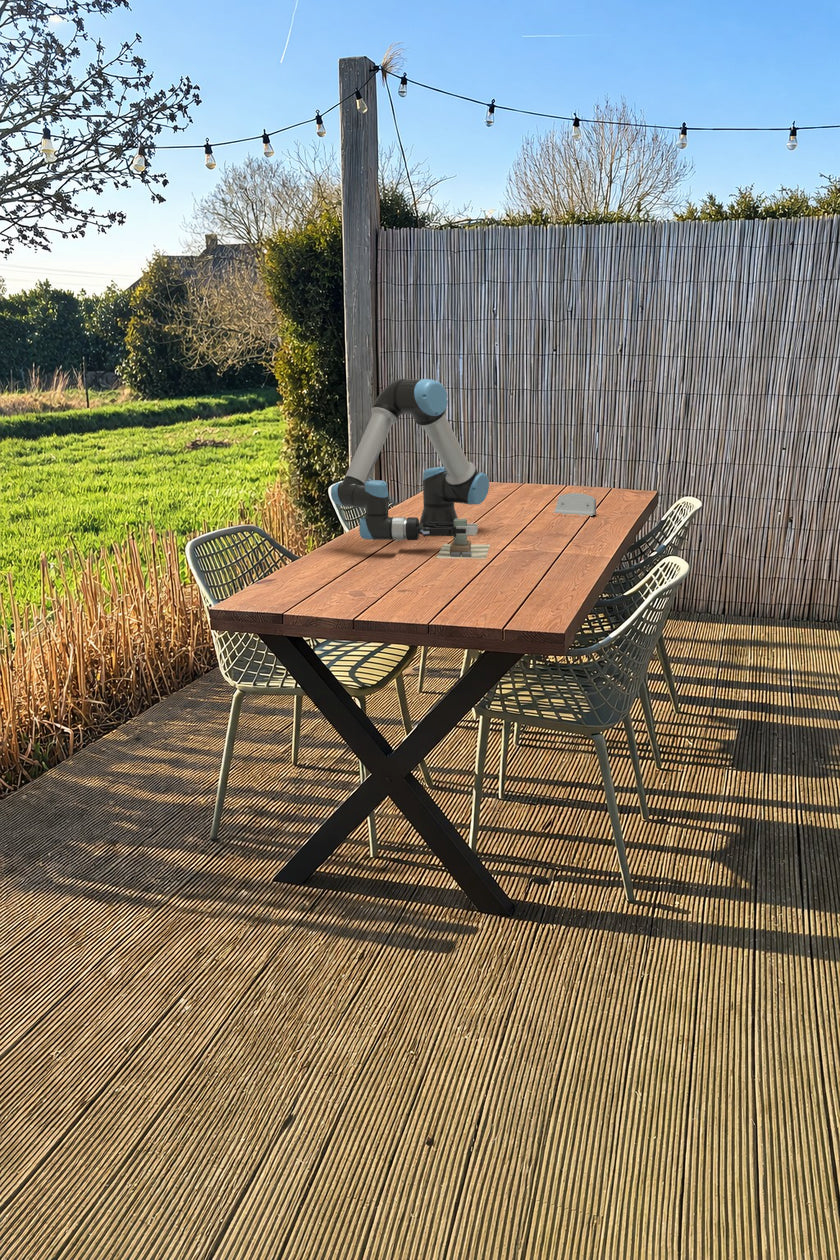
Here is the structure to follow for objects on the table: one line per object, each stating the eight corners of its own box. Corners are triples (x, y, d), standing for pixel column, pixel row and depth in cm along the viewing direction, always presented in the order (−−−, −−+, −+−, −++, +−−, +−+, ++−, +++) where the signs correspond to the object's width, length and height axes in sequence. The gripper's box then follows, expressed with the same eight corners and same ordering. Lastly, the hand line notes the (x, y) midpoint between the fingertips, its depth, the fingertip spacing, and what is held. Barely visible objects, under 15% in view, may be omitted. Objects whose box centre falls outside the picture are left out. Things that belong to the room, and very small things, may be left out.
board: (443, 548, 336) (443, 544, 336) (490, 548, 334) (490, 544, 333) (435, 562, 315) (435, 558, 315) (485, 563, 313) (485, 558, 313)
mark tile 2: (462, 554, 318) (462, 551, 318) (471, 555, 318) (471, 552, 318) (461, 556, 316) (461, 553, 315) (471, 557, 315) (471, 554, 315)
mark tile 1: (451, 554, 319) (451, 551, 319) (460, 554, 318) (460, 551, 318) (450, 556, 316) (450, 553, 316) (459, 557, 316) (459, 554, 315)
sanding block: (453, 548, 328) (452, 517, 325) (471, 548, 328) (470, 517, 325) (449, 554, 319) (449, 522, 316) (468, 554, 318) (468, 522, 315)
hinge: (552, 515, 394) (556, 490, 394) (556, 517, 398) (559, 493, 398) (592, 518, 386) (596, 493, 386) (596, 520, 390) (599, 495, 391)
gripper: (410, 534, 333) (479, 535, 330) (402, 545, 317) (474, 545, 313) (410, 513, 331) (479, 513, 327) (402, 522, 314) (474, 522, 311)
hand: (476, 529), depth 320 cm, fingers closed on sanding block, 4 cm apart
